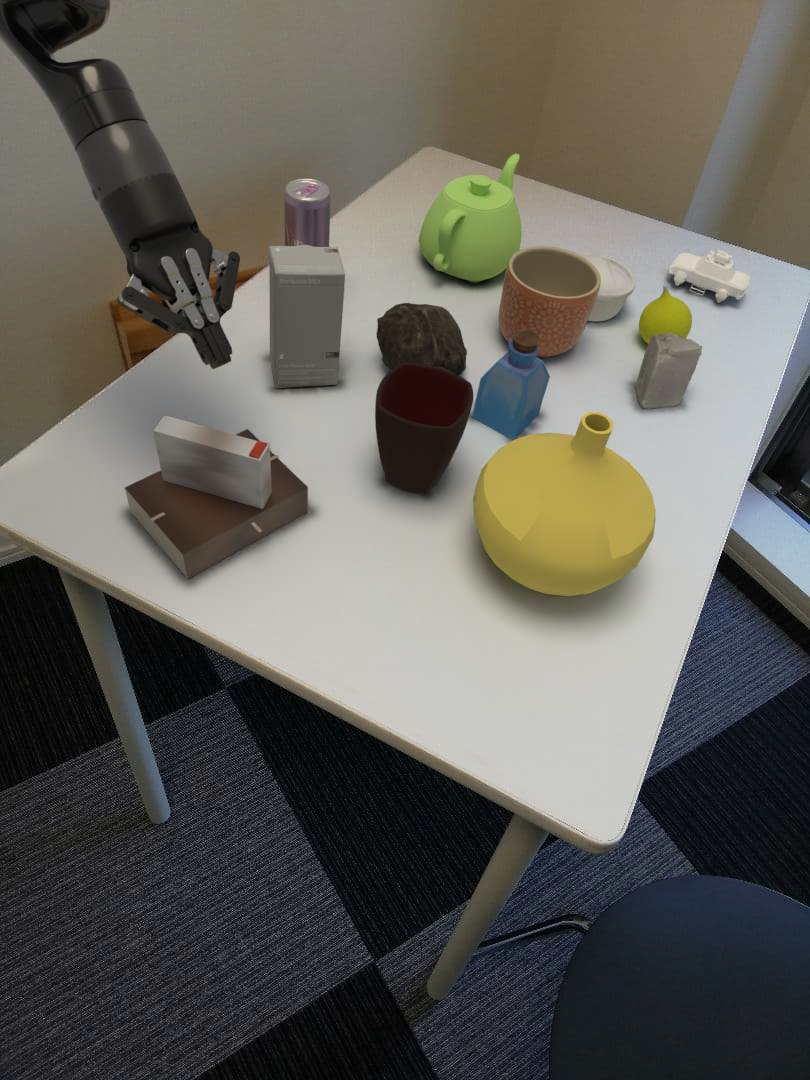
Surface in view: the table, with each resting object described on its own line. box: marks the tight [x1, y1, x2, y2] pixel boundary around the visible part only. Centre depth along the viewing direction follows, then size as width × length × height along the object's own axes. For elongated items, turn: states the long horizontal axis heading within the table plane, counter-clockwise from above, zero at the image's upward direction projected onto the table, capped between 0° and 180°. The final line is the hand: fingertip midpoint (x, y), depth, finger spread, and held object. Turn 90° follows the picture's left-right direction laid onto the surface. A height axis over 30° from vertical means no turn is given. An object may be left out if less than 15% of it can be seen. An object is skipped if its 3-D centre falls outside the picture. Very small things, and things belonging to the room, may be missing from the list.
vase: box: [472, 411, 656, 597], centre depth 76 cm, size 18×18×19 cm
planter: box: [498, 245, 601, 358], centre depth 104 cm, size 12×12×11 cm
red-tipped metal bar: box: [152, 414, 272, 509], centre depth 77 cm, size 11×2×7 cm, turn 74°
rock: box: [376, 302, 468, 376], centre depth 98 cm, size 10×11×10 cm
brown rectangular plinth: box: [124, 428, 309, 580], centre depth 81 cm, size 15×15×4 cm
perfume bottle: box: [471, 329, 551, 441], centre depth 93 cm, size 6×6×12 cm
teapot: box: [418, 153, 522, 284], centre depth 115 cm, size 22×15×13 cm
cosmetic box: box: [268, 245, 346, 389], centre depth 93 cm, size 8×7×16 cm
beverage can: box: [283, 178, 332, 247], centre depth 104 cm, size 6×6×15 cm
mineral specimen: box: [634, 333, 703, 410], centre depth 101 cm, size 7×9×8 cm
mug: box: [374, 363, 474, 494], centre depth 86 cm, size 10×14×12 cm
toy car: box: [667, 249, 751, 304], centre depth 119 cm, size 6×12×7 cm, turn 60°
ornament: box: [638, 283, 693, 345], centre depth 107 cm, size 7×7×10 cm
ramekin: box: [577, 252, 636, 323], centre depth 113 cm, size 11×11×5 cm
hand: (222, 364), depth 75 cm, fingers closed
